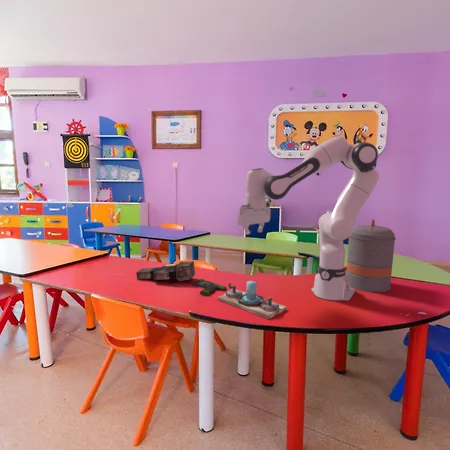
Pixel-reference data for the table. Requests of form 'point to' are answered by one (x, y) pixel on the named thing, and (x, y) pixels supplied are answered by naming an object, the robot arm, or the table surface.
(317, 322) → the table surface
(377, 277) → the storage container
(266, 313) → the board
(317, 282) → the robot arm
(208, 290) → the gun
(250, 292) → the teal gear
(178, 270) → the toy
